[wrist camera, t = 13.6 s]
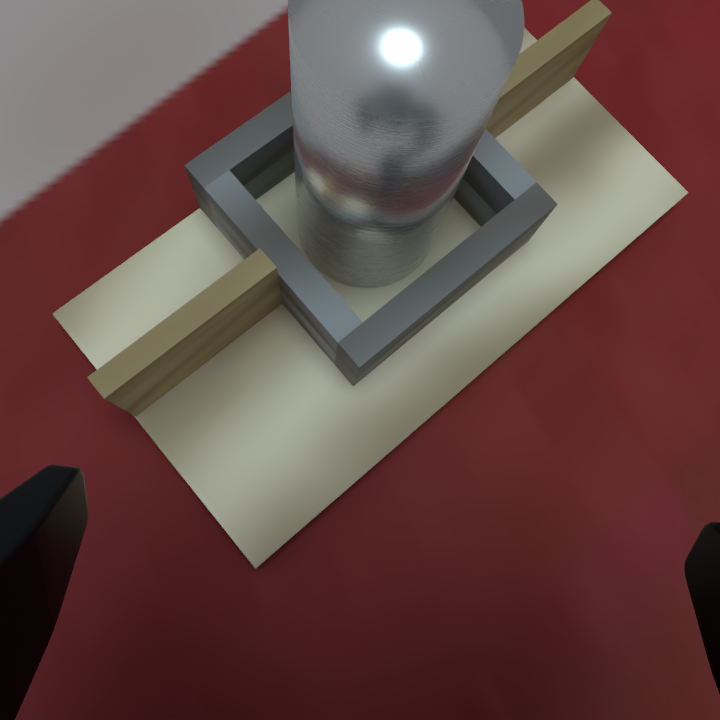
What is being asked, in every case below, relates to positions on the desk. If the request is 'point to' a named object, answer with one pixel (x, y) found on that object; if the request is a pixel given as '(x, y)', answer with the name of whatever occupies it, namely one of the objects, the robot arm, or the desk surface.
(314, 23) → the silver metal cylinder
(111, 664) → the desk surface
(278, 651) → the desk surface
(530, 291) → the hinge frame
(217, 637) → the desk surface
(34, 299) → the desk surface
